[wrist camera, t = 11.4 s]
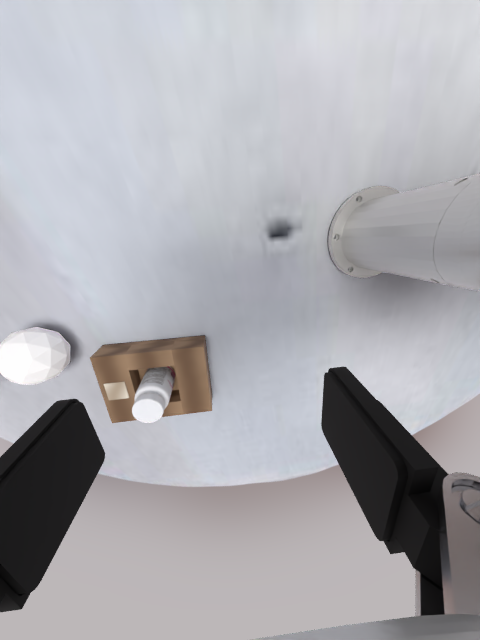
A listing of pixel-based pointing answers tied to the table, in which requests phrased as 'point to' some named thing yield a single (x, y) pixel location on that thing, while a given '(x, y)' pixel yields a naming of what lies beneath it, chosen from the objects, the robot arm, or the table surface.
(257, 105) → the table surface
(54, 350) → the geometric ball
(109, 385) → the brown flat recessed slab
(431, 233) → the robot arm
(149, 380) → the pill bottle
